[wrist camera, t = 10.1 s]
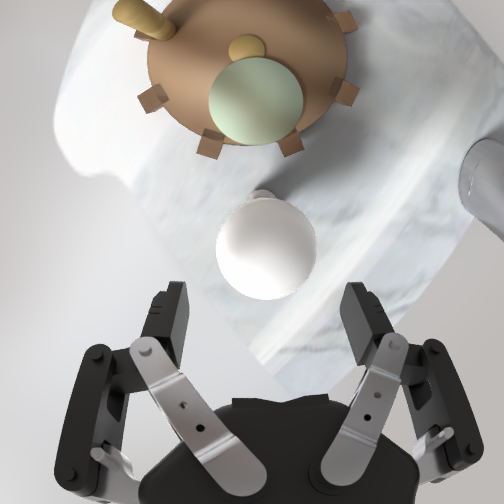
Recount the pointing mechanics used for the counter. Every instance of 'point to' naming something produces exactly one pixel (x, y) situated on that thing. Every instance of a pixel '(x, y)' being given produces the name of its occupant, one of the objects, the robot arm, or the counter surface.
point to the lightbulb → (266, 247)
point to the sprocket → (243, 67)
